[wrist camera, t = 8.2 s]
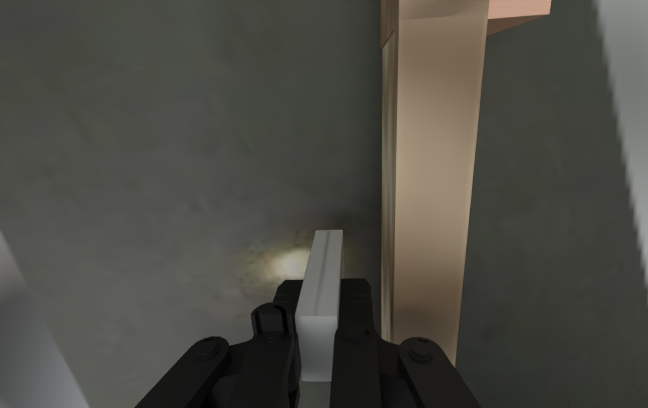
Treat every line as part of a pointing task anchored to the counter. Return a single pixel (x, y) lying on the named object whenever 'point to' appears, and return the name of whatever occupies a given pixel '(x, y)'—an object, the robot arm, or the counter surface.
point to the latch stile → (514, 13)
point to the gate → (428, 161)
